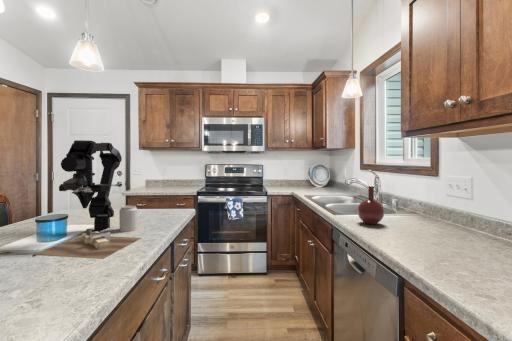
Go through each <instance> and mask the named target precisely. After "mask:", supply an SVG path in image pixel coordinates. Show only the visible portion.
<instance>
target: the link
mask: <svg viewBox="0 0 512 341" xmlns="http://www.w3.org/2000/svg"><path fill="white" fill-rule="evenodd" d="M100 232H101V231H92V234H95V233H100ZM81 236H82V241H84V242H85V243H91V244H92V245H94V246H95V247H96V248H98V249H104V248H108V247H109V241H108V240H107V239H105V238H103V237H102V236H99V237H94V238H92V237H90V236H88V235H86V232H85V233H81Z"/></svg>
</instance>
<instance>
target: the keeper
mask: <svg viewBox="0 0 512 341" xmlns="http://www.w3.org/2000/svg"><path fill="white" fill-rule="evenodd" d="M99 232H100V233H95V234H90V237H92V238H94V237H99V236H102V237H103V238H105V239H107V240H108V241H109V243H110V236H111V231H109V230H107V231H106V230H104V231H99Z"/></svg>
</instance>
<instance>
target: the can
mask: <svg viewBox="0 0 512 341" xmlns="http://www.w3.org/2000/svg"><path fill="white" fill-rule="evenodd" d="M138 210H139V209H138V208H137V206H136V205H134V204H133V205H131V204H130V205H129V204H128V205H122V206H121V207H120V209H119V232H122V233H129V232H130V233H131V232H136V231H138V229H139V228H138V227H139V223H138V222H139V221H138V220H139V219H138V218H139V217H138V215H139V212H138Z"/></svg>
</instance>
